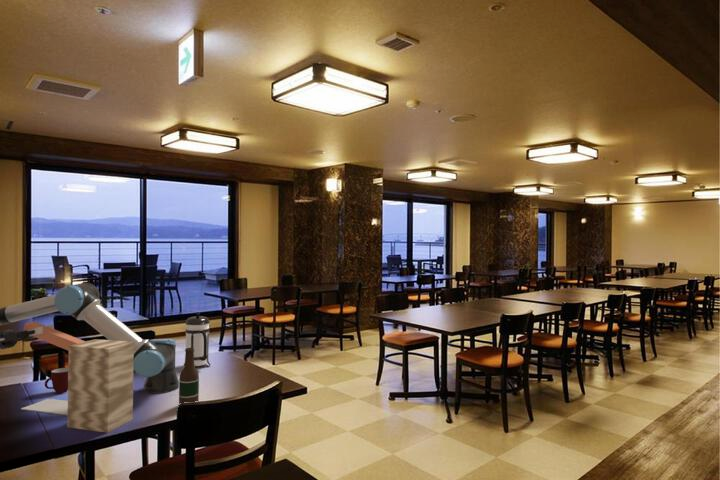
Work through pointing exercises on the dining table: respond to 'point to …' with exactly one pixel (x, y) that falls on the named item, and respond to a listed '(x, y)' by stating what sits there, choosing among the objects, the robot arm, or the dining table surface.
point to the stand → (100, 385)
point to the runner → (49, 406)
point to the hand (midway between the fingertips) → (47, 328)
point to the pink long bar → (53, 336)
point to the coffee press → (198, 338)
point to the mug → (59, 380)
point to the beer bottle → (189, 379)
